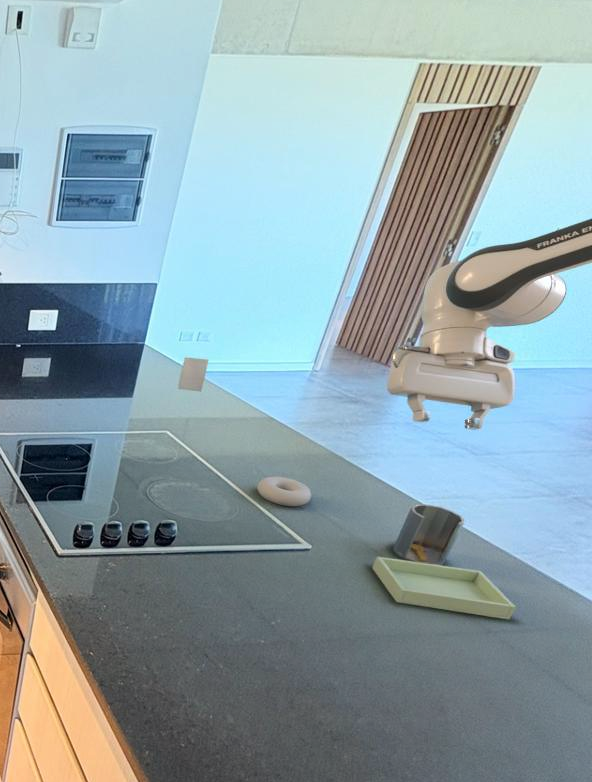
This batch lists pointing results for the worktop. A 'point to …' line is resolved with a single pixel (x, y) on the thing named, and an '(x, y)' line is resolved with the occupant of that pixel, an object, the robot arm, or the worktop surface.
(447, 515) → the steel cup
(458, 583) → the tray
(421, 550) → the key
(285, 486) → the donut
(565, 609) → the worktop surface
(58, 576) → the worktop surface
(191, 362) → the pinkish tan block
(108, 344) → the worktop surface
